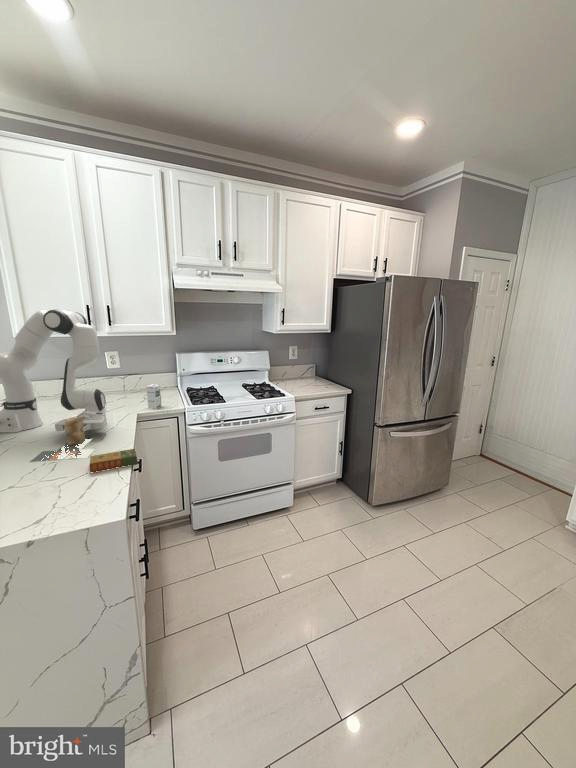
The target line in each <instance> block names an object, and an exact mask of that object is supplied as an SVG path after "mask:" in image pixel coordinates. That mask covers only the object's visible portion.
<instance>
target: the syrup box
mask: <svg viewBox="0 0 576 768" xmlns="http://www.w3.org/2000/svg"><path fill="white" fill-rule="evenodd" d="M145 388H146V399H147V409H149V408H151V410H157V409H159V408H161V407H162V399H161V398H162V395H161V386H160V384H157V383H156V384H155V383H151V384H150V385H146V386H145Z"/></svg>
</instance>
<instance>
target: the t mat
mask: <svg viewBox="0 0 576 768" xmlns="http://www.w3.org/2000/svg"><path fill="white" fill-rule="evenodd" d="M64 444H65V445H64ZM64 444H63V445H64V446H65V447H66V448H65V447H64V448H65V453H66V454H67V453H68V452H69V451H70V453H73V454H75V456H76V457H77V455H81V454H78V453H81V452H80V451H79V448H77V447H75V446H76V445H68V441H66V442H65V443H64ZM67 445H68V446H67ZM77 446H79V445H77ZM67 447H69V448H67ZM68 449H69V451H68V452H66V451H67V450H68ZM73 449H75V451H73ZM54 451H55V452H54ZM61 451H62V450H61V447H59V448H58V449H57V452H56V450H45V451H41V452H40V453H38V454H37V455H36V456H35V457H33V458H32V459H31V460H30V461H29V463H35V462H37V461H38V462H49V461H50V460H52V461H59V460H58V459H57V458H58V456H57V455H61V454H59V453H62V452H61ZM54 453H55V454H54ZM70 453H69V454H70ZM51 454H52V455H54V456H52V455H51ZM69 454H68V455H69ZM73 454H70V455H73ZM45 455H46V456H47V457H48V456H49V458H47V457H46V456H45ZM56 456H57V457H56ZM71 457H72V456H71ZM71 457H70V458H71ZM43 458H44V459H43ZM42 459H43V460H42ZM41 460H42V461H41ZM46 460H48V461H46ZM75 460H78V459H77V458H76V459H75Z"/></svg>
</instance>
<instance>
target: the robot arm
mask: <svg viewBox="0 0 576 768" xmlns="http://www.w3.org/2000/svg"><path fill="white" fill-rule="evenodd" d="M53 333H57V334H61V335H68V336H70V338H71V341H72V353H71V355H70V357H69V358H67V359H66V361H65V365H64V372H63V373H64V374H63V383H62V392H61V395H60V405H61V406H62V407H63V408H65V409H66V410H67V411H73V410H74V411H75V410H83V409H84V410H83V411H82V412H80V413H79V414H78V415H77V416H76V417H75V418H80V417H82V419H83V426H84V427H81V428H80V430H81V432H84V433H85V432H86V431H91V430H104V429H105V428H106V427H107V424H108V423H107V422H108V421H107V415H106V413H107V408H106V396H105V394H104V392H102V391H101V389H98V388H91V389H90V388H89V389H88V388H87V389H76V377H77V373H78V371H79V370H81V369H82V368H85V367H88V366H90V365H93V364H94V363H95V362H97V360H98V359H99V358H100V344H99V338H98V335H97V331H96V329H95V328H94V327H93V326H92V325H90V324H88V321H87V318H86V317H85V316H84V315H82V314H81V313H80V312H76V311H71V310H67V309H58V308H57V309H49V310H45V309H40V310H37V311H36V312H35V313H33V314H32V315H31V316H30V317H29V318H28V319H27V320H26V322H25V323H24V324H23V326H21V328H20V329H19V330H18V332H17V334H16V335H15V336H14V340H15V343H14V345H13V348H12V349H10V350H9V351H3V352H0V382H1V384H2V386H3V391H4V394H5V395H4V396H5V400H4V401H3V402H2V403H1V404H0V407H3V408H2V409H1V410H0V433H12V434H13V433H19V432H22V431H27V430H30V429H31V430H32V429H36V428H38V427H41V426H42V425H43V424H44V422H43V421H42V419H41V417H40V414H39V411H38V403H37V398H36V397H35V392H34V391H35V390H34V386H33V383H32V381H30V380H29V379H28V378H27V376H26V374H25V372H26V371H29V370H31V369H33V368H34V367H35V366H36V365H37V364H38V361H39V360H38V357H39V355H40V352H41V350H42V349H43V347H44V345H45V344H46V343H47V342H48V341H49V339H50V337H51V336H52V334H53ZM68 419H69V418H65V419H62V420H58V422H56V423H54V429H55V432H64V433H66V426H65V421H66V420H68Z"/></svg>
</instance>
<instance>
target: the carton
mask: <svg viewBox="0 0 576 768" xmlns="http://www.w3.org/2000/svg"><path fill="white" fill-rule="evenodd" d="M89 457H90V458H89V473H90V472H96V471H101V472H103V471H102V470H107V469H112V468H116V467H122V466H127V467H132V466H137V465H139V462H138V461H139V459H138V457H137V453H136V448H130V449H125V450H119V451H114V452H113V451H112V452H106V453H101V454H94V455H90V456H89ZM128 465H129V466H128ZM130 465H131V466H130ZM122 468H123V467H122ZM112 470H113V469H112ZM107 471H108V470H107ZM96 473H97V472H96Z"/></svg>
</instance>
